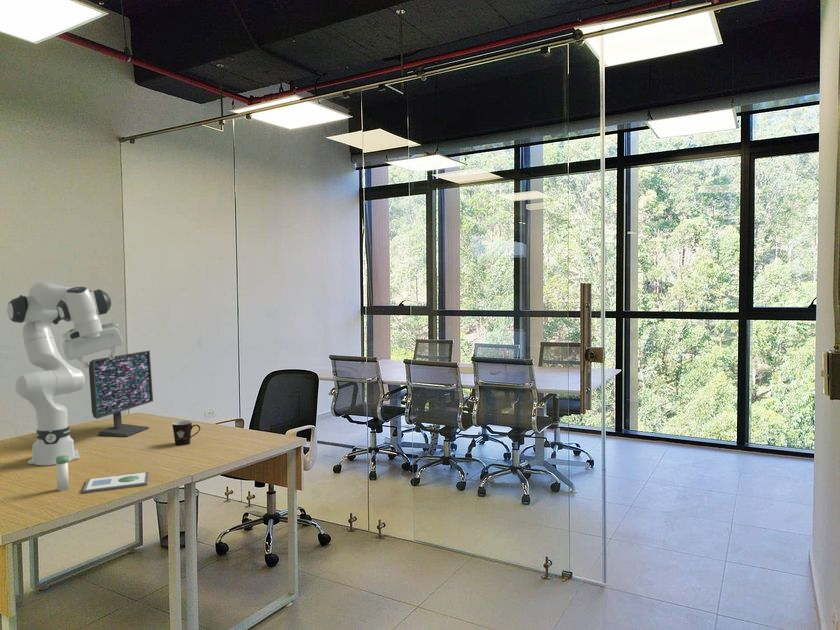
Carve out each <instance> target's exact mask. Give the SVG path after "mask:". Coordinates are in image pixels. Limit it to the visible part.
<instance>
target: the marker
mask: <svg viewBox="0 0 840 630" xmlns="http://www.w3.org/2000/svg"><path fill="white" fill-rule="evenodd" d="M55 465H56V467H55V468H56V486H57V487H56V488H57V489H56V490H58V492H63V491H62V490H65V491H68V490H69V489H70V483H69V482H70V481H69V480H70V479H69V461H68V456H67V455H63V456H58V457H56V464H55ZM67 489H68V490H67Z"/></svg>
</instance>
